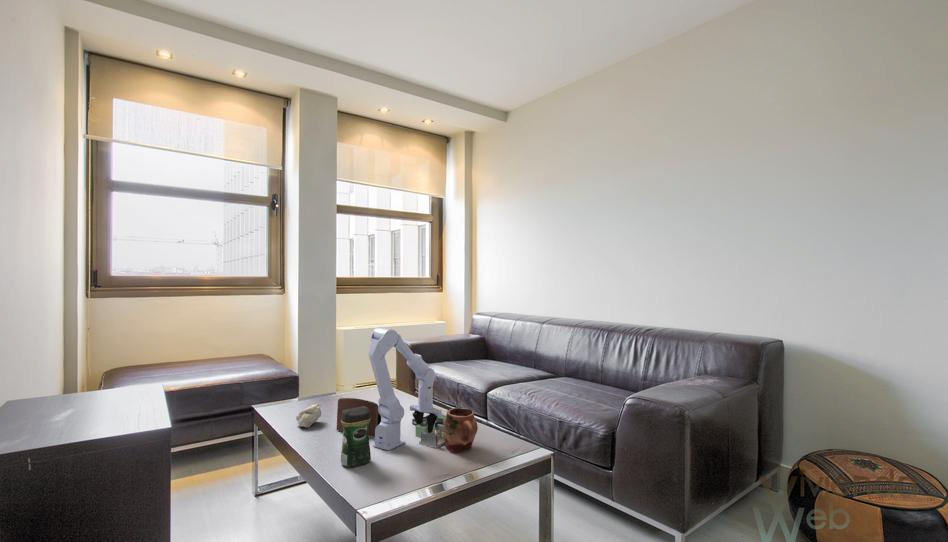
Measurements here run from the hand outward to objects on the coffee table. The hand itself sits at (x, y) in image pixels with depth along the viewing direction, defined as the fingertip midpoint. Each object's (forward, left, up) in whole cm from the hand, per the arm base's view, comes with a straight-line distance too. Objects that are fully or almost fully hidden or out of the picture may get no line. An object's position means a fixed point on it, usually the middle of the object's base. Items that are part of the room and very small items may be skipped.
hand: (425, 430), depth 177 cm
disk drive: (+12, +5, -2) cm, 13 cm away
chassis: (-3, -8, -1) cm, 9 cm away
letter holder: (-9, +25, -2) cm, 26 cm away
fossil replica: (-17, +49, -2) cm, 52 cm away
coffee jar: (-34, +4, -2) cm, 34 cm away
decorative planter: (-6, -20, -2) cm, 21 cm away
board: (0, 0, -1) cm, 1 cm away
